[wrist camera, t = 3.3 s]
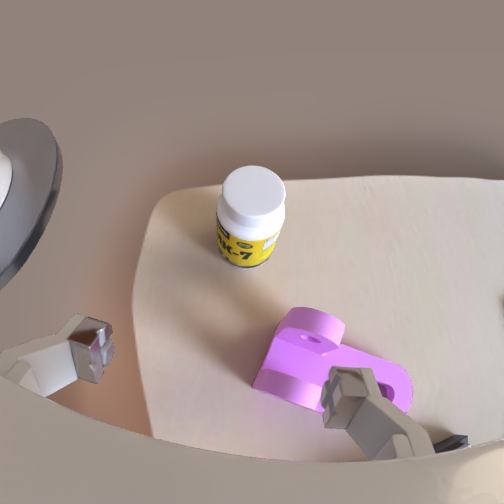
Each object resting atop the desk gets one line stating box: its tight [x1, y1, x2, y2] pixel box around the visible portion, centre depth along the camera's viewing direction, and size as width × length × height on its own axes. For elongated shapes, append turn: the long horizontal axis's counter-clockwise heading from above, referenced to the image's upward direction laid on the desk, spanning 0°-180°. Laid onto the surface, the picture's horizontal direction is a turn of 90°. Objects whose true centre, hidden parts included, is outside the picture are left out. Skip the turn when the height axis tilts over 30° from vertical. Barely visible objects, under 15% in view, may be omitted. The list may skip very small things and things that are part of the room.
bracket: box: [252, 307, 413, 414], centre depth 19 cm, size 13×6×7 cm, turn 67°
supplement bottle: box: [216, 166, 285, 270], centre depth 23 cm, size 5×5×8 cm
